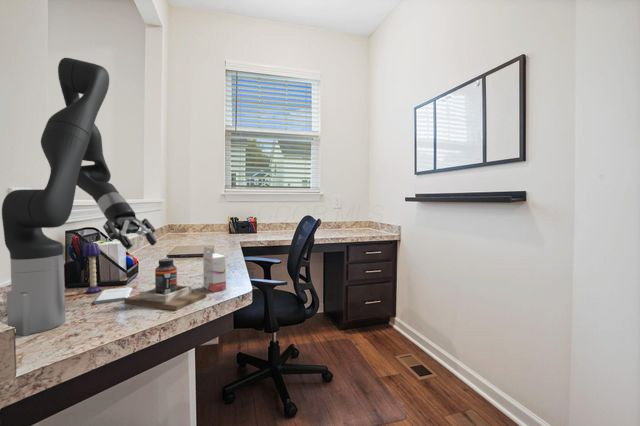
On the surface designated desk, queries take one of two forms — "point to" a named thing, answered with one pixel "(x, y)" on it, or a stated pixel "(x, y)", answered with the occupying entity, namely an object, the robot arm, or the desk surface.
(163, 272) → the supplement bottle
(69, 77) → the robot arm
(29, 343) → the desk surface
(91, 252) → the toy lamp
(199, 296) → the rail board
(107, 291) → the external hard drive
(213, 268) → the ink cartridge box
